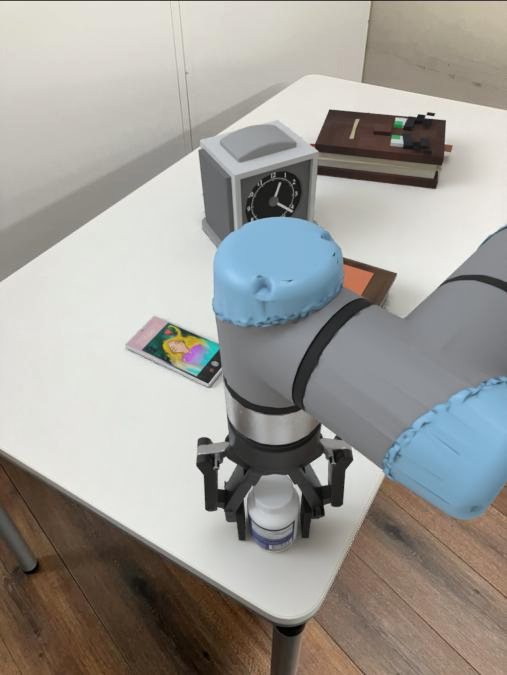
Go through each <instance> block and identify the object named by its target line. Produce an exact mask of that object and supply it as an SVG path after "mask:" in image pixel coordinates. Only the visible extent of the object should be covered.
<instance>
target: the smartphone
mask: <svg viewBox="0 0 507 675" xmlns="http://www.w3.org/2000/svg"><path fill="white" fill-rule="evenodd" d="M124 346H125V348H126V349H127V350H129V351H131V352H133V353H135V354H138V355H139V356H141V357H144V358H146V359H148V360H150V361H152V362H154V363H156V364H159V365H161V366H162V367H164V368H166V369H169V370H171V371H173V372H175V373H177V374H179V375H181V376H183V377H185V378H188V379H190V380H191V381H194V382H196V383H198V384H200V385H202V386H204V387H207V388H211V387H212V385H213V384H214V382H215V381H216V380H217V379H218V378H219V376H220V375H221V373H222V374H223V372H222V364H221V356H220V348H219V342H216V341H214V340H212V339H209V338H207V337H205V336H202V335H200V334H198V333H196V332H193V331H191V330H189V329H186V328H184V327H182V326H180V325H177V324H175V323H172V322H170V321H168V320H166V319H164V318H162V317H159V316H156V315H153V316H152V317H151V318H150V319H149V320H147V322H146V323H145V324H144V325H143V326H142V327H141V328H140V329H139V330H137V332H136V333H135V334H134V335H132V336H131V337H130V338H129V339H128V341H127V342H126V343H125V344H124Z"/></svg>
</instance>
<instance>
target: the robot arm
mask: <svg viewBox="0 0 507 675" xmlns="http://www.w3.org/2000/svg"><path fill="white" fill-rule="evenodd" d="M343 257H344V255H343V251H342V248H341V246H339V244H338V243H337V242H336V241H335V239H334V238H333V237H332V235H331V233H330V232H329V231H328V230H327V229H325V228H324V227H323V226H320V225H319V224H318V225H316V224H314V223H312V222H309V221H306V220H302V219H298V218H291V217H270V218H264V219H259V220H255V221H252V222H249V223H247V224H244V225H243V226H242V227H241V228H240V229H238V230H235V231H234V232H231V233H230V234H229V235H228V236H227V237H226V238H225V239H224V240H223V241H222V242H221V244H220V245H219V247H218V249H217V248H216V251H215V254H214V257H213V265H212V270H213V271H212V272H213V276H212V277H213V281H212V282H213V297H212V299H211V300H212V301H211V306H212V311H213V313H214V316H215V323H216V331H217V338H218V344H219V348H220V356H221V364H222V375H221V376H222V378H221V379H222V385H223V386H222V387H223V392H224V393H223V394H224V400H225V401H224V402H225V411H226V421H227V430H228V434H227V435H226V436H225V438H224V441H219V442H213V441H212V439H211V438H209V437H206V436H202V437H198V438H197V440H196V442H197V443H196V459H195V467H196V468H197V469H198V470H199V471H200V473H201V474H202V475H203V491H204V495H203V496H204V510H205V511H206V512H208V513H210V512H217V510H218V509H222V510H223V512H224V518H225V521H226V522H227V523H236V529H237V538H238V541H246V533H247V532H246V507H245V498H246V496H248V494H249V491H250V490H251V488H252V487H253V486H256V484H257V483H258V481H259V480H260V478H261V477H262V476H267V475H273V474H277V475H287V476H288V477H289V478H290V480H291V481H292V483H293V486H296V485H297V487H298V489H299V490H300V492H301V498H300V509H299V523H300V535H301V539H309V538H310V531H311V524H312V520H320V519H322V518H324V517H326V512H325V506H327V505H330V507H332V508H340V507H342V506H343V505H344V498H345V496H344V495H345V483H346V482H345V481H346V470H348V468H349V467H350V466H351V464H352V463H353V461H354V455H353V449H354V450H355V451H357V453H360V454H361V455H362V456H363V457H364V458H366V459H367V460H368V461H370V462H371V463H373V464H374V465H375V466H377V467H378V468H379V469H380V470H382V471H381V472H382V473H384V476H385V477H386V478H388V479H389V480H390V481H392V482H394V483H398V484H401V486H403V487H405V488H407V489H408V490H410V491H411V492H412V493H414V494H415V495H417V496H418V497H420V498H422V499H423V500H425V501H426V502H428V503H429V504H431V505H433V506H434V507H435V508H437V509H438V510H440V511H442V512H443V513H445V514H446V515H448V516H449V517H451V518H454V519H456V520H460V521H471V520H474V519H477V518H479V517H480V516H482V515H483V514H484V513H485V512H487V510H488V509H489V508H490V506H491V505H492V503H493V502H494V500H495V499H496V498H497V496H498V495H499V494H500V493H501V491H502V489H503V488H504V487H505V486H506V484H507V224H505V225H503V226H500V227H499V228H498V229H497V230H495V231H494V232H492V233H491V234H488V236H486V238H485V239H484V240H483V241H482V243H481V244H479V245H478V247H477V249H476V250H475V251H474V252H473V253H472V254H471V255H470V256H469V257H468V258H467V259H466V260H464V261H463V263H461V264H460V265H459V266H458V267H457V268H456V269H455V270H454V271H453V272H452V273H451V274H450V275H448V277H447V278H446V279H445V280H443V281H442V282H441V283H440V284H439V285H438V286H437V287H436V288H435V289H434V290H433V291H432V292H431V293H430V294H429V295H428V296H426V298H424V300H422V301H421V303H419V304H418V305H417V306H416V307H415V308H414V309H412V311H410V312H409V313H408V314H407V315H406V316H405V317H404V318H402V317H401V316H398V315H397V314H394V313H392V312H391V311H389V310H387V309H385V308H383V307H382V308H381V307H380V306H378V305H376V304H374V303H372V302H371V301H369V300H367V299H365V298H364V297H362V296H360V295H359V294H357V293H355V292H353V291H351V290H349V289H348V288H346V287H344V285H343V281H344V274H345V271H344V269H343ZM322 425H323V426H324V427H325V428H326V429H327V430H329V431H330V432H332V433H333V434H334V435H335V436H334V437H333V438H328V437H324V435H323V434H322V433H321V432H322V427H323V426H322ZM352 448H353V449H352ZM323 454H324V457H325V459H326V460H327V484H325V485H322V483H321V481H320V479H319V477H318V476H317V474H316V472H315V470H314V468H313V467H312V465H311V463H313V462H314V461H316V460H318V459H319V458H320V457H322V455H323ZM225 458H226V459H228V460H229V461H231V462H232V463H234V464H236V466H235V468H234V470H233V471H232V473H231V475H230V476H229V478H228V481H226V480H224V483H223V485H224V486H223V487H224V488H219V470H220V467H221V464H223V463H224V459H225Z"/></svg>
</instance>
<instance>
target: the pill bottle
mask: <svg viewBox="0 0 507 675" xmlns="http://www.w3.org/2000/svg"><path fill="white" fill-rule="evenodd" d="M300 506H301V499H300V496H299V492H298V490H297V489H296V488H295V485H294V484H293V482H292V480H291V479H290V477H289V476H288V475H277V474H273V475H267V476H262V477H261V478H260V480H259V481H258V483H257V484H256V486H252V487H251V488H250V490H249V492H248V493H247V498H246V511H247V523H248V532H249V535H250V538H251V540H252V542H253V543H254V544H255V545H256V547H257V548H259V549H261V550H262V551H265V552H268V553H280V552H284V551H285V550H287V549H288V548H289V547H291V546H292V545H293V544H294V542H295V540H296V539H297V535H298V531H299V521H300Z"/></svg>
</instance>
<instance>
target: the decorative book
mask: <svg viewBox="0 0 507 675" xmlns="http://www.w3.org/2000/svg"><path fill="white" fill-rule="evenodd" d="M435 115H436V112H431V111H430V112H429V111H428V112H427V111H426V114H421V113H418V114H417V116H412V115H408V116H406V115H395V114H385V113H373V112H361V111H351V110H341V109H331V108H330V109H328V111H327V114H326V115H325V118H324V121H323V122H322V125H321V128H320V131H319V133H318V136H317V138H316V139H315V143H309V144H310V145H311V146H312V147H314V148H315V149H316V150H317V151H319V153H318V167H317V176H325V177H333V178H343V179H350V180H358V181H366V182H367V181H368V182H375V183H383V184H392V185H401V186H408V187H415V188H416V187H418V188H425V189H433V190H436V189H437V186H438V182H439V172H442V166H443V164H444V160H445V152H446V153H452V150H453V144H446V129H447V120H446V119H439V118H429V117H435ZM427 116H429V117H428V118H427Z"/></svg>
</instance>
